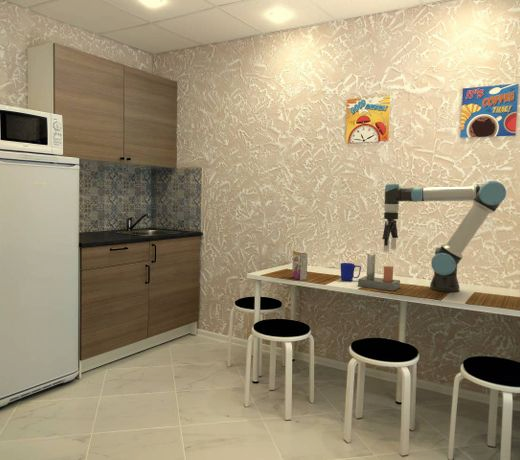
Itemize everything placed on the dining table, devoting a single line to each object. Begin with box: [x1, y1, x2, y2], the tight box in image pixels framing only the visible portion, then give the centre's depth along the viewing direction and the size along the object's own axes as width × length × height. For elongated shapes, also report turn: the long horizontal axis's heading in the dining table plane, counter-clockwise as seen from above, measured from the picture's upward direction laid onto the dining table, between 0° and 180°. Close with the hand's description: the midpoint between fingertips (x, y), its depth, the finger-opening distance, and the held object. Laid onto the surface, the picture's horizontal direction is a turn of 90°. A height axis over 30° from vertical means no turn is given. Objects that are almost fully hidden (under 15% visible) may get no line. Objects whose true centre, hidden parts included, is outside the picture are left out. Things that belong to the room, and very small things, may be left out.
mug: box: [339, 262, 362, 282], centre depth 275 cm, size 8×12×10 cm
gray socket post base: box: [357, 253, 401, 292], centre depth 258 cm, size 20×12×18 cm, turn 58°
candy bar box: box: [291, 250, 309, 281], centre depth 277 cm, size 11×5×16 cm, turn 22°
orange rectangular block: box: [382, 265, 394, 282], centre depth 255 cm, size 4×4×12 cm
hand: (389, 250), depth 254 cm, fingers open, 13 cm apart
